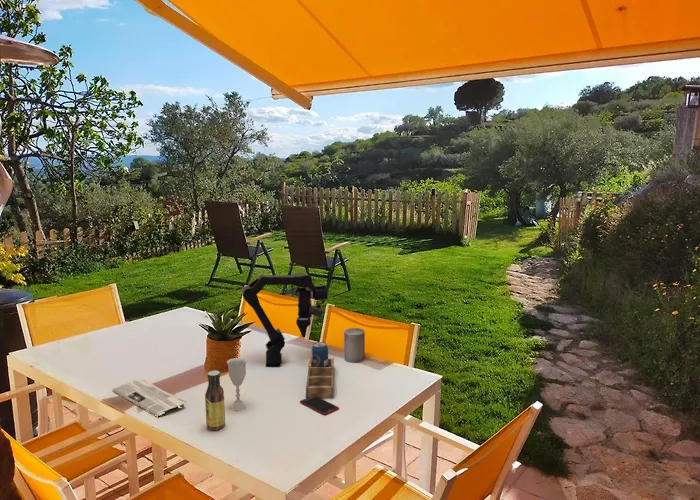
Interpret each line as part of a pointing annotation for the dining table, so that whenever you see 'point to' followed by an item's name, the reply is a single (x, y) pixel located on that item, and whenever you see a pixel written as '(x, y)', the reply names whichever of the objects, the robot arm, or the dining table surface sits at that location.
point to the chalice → (237, 378)
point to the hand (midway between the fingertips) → (304, 333)
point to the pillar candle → (354, 345)
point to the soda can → (320, 355)
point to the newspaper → (148, 396)
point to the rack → (320, 381)
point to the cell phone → (319, 406)
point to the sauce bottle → (214, 402)
